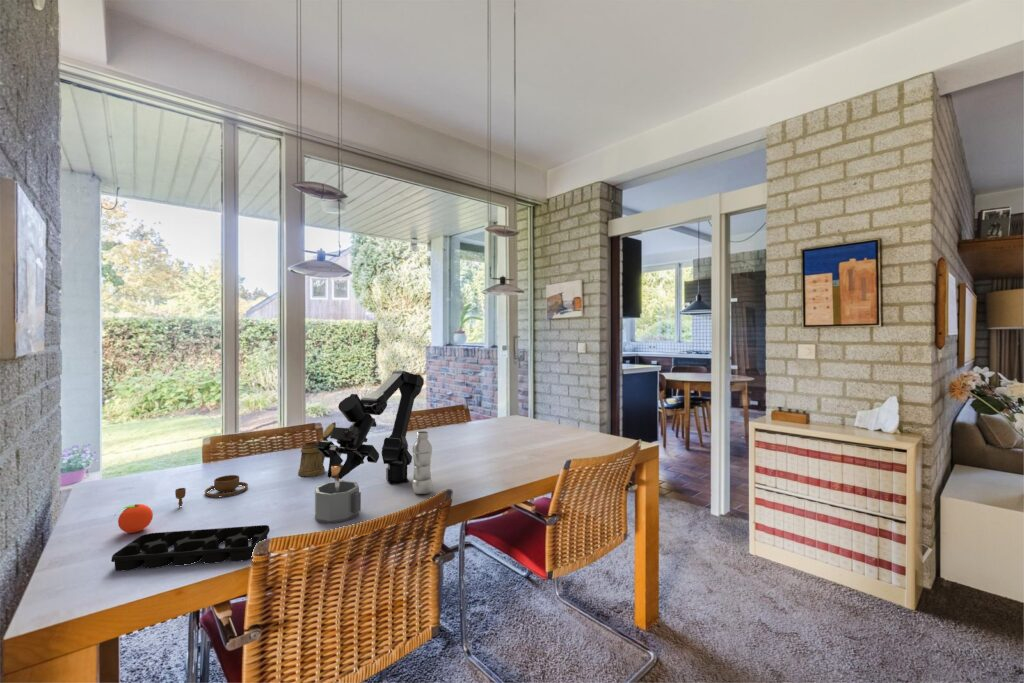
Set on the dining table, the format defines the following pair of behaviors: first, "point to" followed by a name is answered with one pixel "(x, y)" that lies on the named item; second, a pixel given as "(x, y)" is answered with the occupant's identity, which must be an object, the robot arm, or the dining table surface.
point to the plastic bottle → (422, 464)
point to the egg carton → (189, 547)
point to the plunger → (336, 475)
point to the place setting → (217, 487)
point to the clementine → (135, 518)
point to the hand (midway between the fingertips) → (333, 477)
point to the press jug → (337, 502)
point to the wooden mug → (313, 456)
